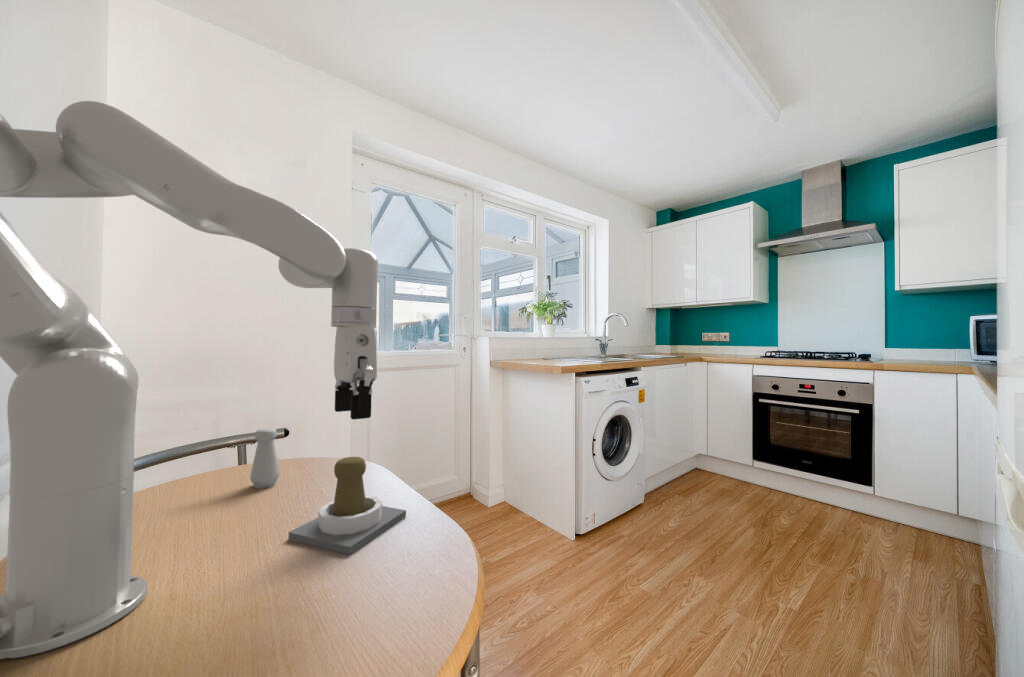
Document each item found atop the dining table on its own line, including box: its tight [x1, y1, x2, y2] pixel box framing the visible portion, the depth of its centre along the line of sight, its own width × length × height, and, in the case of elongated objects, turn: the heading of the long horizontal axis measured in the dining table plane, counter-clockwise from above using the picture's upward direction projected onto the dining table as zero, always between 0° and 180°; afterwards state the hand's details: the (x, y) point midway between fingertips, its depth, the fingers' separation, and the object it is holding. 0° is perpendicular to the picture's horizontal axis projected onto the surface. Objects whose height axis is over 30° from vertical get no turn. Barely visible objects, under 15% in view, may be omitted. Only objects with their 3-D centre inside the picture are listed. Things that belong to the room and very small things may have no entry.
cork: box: [332, 456, 367, 517], centre depth 66 cm, size 6×6×11 cm
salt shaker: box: [249, 427, 281, 490], centre depth 87 cm, size 6×6×13 cm
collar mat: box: [288, 494, 407, 555], centre depth 66 cm, size 14×13×4 cm
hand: (351, 414), depth 67 cm, fingers open, 9 cm apart
